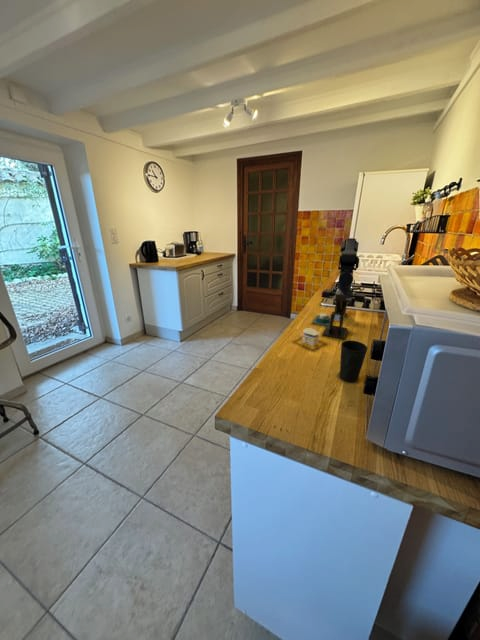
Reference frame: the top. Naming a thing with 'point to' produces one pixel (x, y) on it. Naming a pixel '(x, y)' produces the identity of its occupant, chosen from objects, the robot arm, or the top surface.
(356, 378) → the cup
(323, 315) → the button
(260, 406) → the top surface
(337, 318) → the press lever
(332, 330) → the toaster bracket
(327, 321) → the button housing
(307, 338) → the stacked layers on plate
